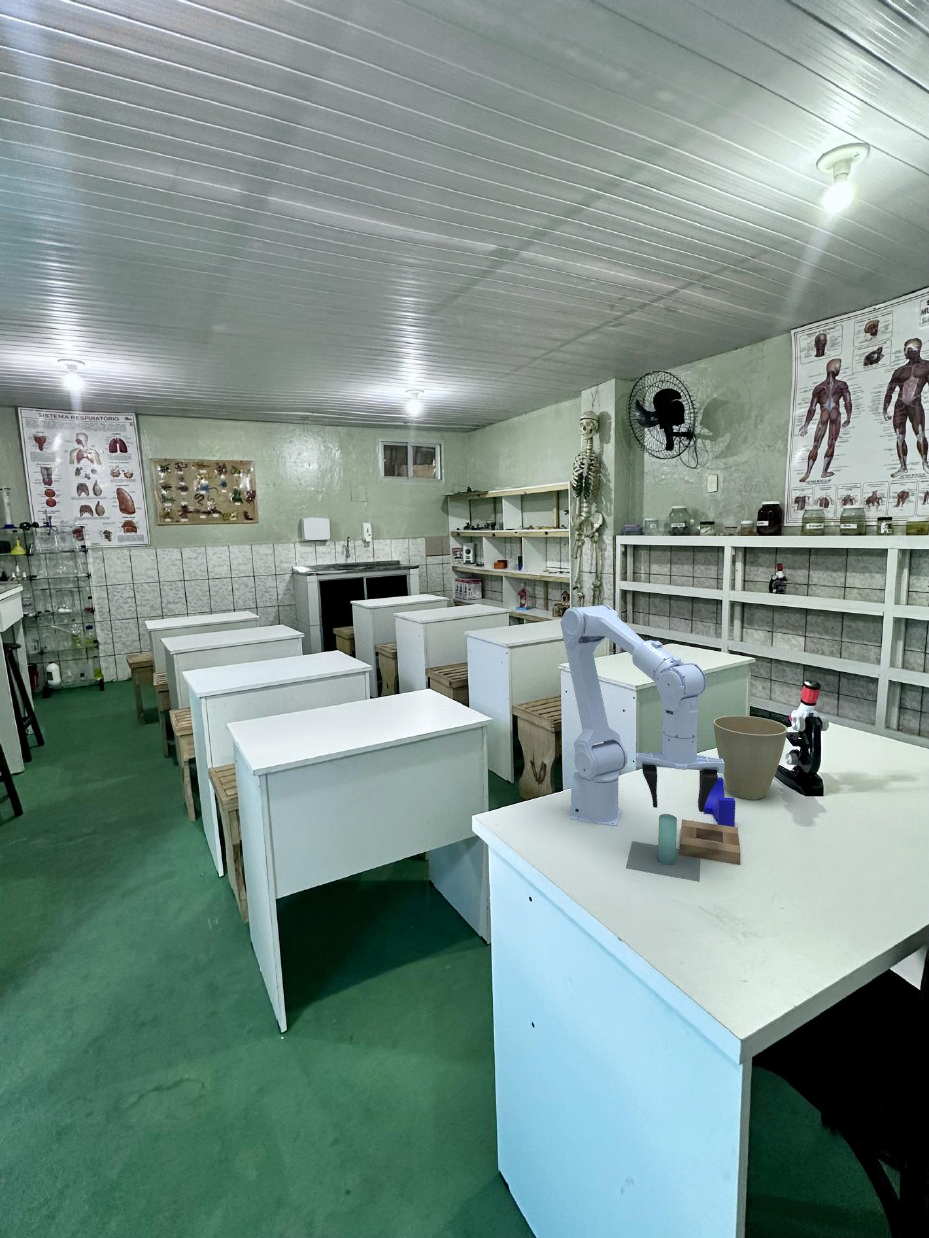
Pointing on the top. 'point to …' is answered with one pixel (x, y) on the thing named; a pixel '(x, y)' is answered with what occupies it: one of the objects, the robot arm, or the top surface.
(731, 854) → the socket block
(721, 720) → the plant pot
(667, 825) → the peg
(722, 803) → the cable clip
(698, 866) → the mat
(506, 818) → the top surface
